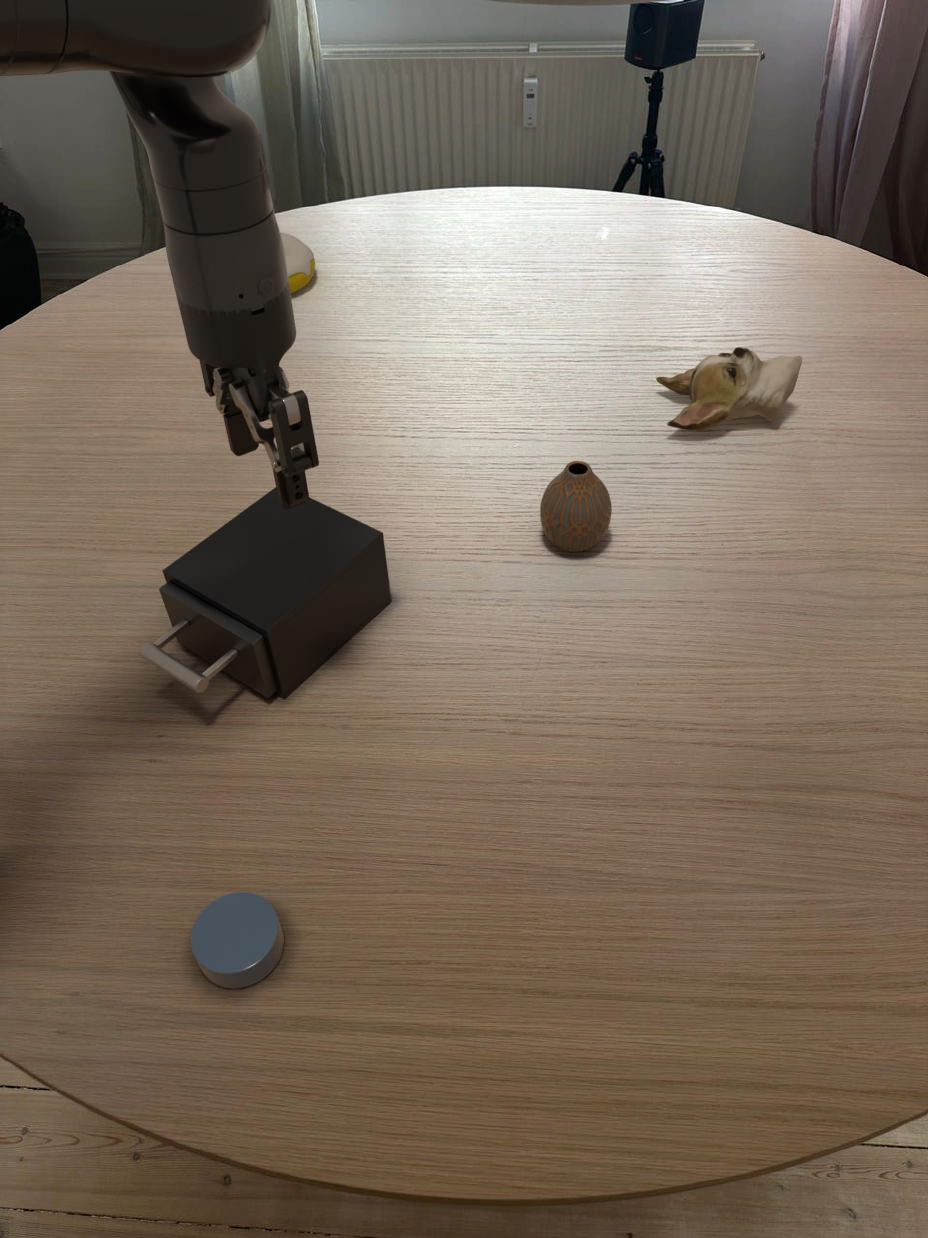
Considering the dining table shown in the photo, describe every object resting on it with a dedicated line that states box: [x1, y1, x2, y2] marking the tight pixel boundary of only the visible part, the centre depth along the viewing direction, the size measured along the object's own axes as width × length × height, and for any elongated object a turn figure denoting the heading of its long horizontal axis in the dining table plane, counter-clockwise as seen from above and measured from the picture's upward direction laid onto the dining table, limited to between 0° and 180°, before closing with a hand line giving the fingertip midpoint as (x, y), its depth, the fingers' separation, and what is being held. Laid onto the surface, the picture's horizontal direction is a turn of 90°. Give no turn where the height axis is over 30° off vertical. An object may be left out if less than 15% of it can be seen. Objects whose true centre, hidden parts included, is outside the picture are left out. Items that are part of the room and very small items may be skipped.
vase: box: [539, 460, 613, 553], centre depth 95 cm, size 7×7×9 cm
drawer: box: [138, 581, 277, 699], centre depth 86 cm, size 18×11×7 cm, turn 143°
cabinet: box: [162, 486, 392, 700], centre depth 89 cm, size 15×13×9 cm
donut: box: [280, 232, 316, 294], centre depth 137 cm, size 14×14×5 cm
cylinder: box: [190, 891, 285, 990], centre depth 68 cm, size 6×6×2 cm
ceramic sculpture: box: [655, 346, 803, 432], centre depth 109 cm, size 11×9×15 cm
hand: (269, 476), depth 77 cm, fingers open, 8 cm apart
